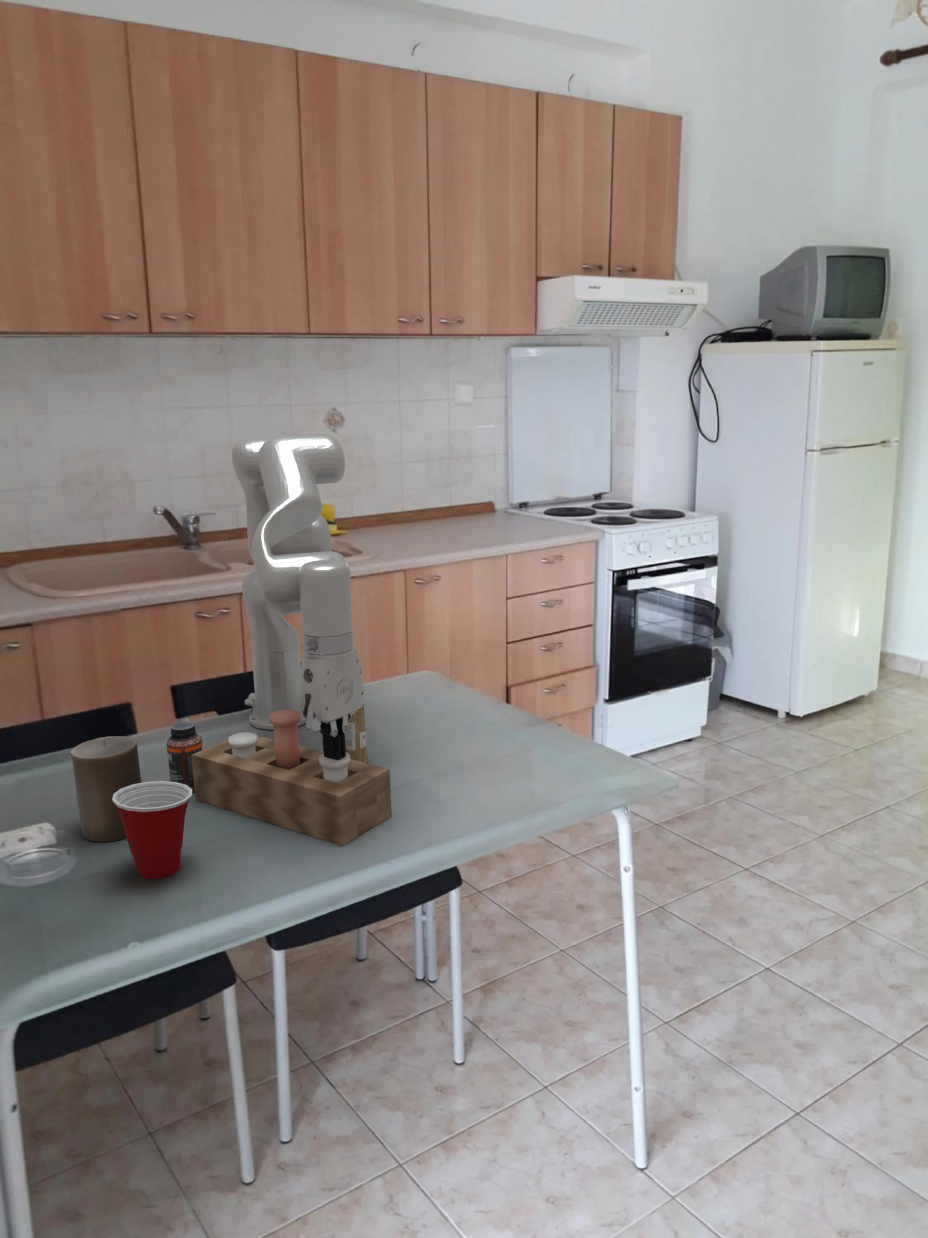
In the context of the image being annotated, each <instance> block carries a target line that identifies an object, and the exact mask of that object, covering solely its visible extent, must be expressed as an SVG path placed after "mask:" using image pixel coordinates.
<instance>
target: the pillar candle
mask: <svg viewBox="0 0 928 1238" xmlns="http://www.w3.org/2000/svg"><path fill="white" fill-rule="evenodd" d="M137 742H138V741H137V740H136V739H134V738H133V737H129V736H121V735H119V736H118V735H117V736H116V735H115V736H114V735H113V736H105V737H98V738H94V739H91V740H87V741H85V742H81V743H80V744H78V745H76V746H75V747H73V748H72V749H71V750H70V755H71V758H72V767H73V776H74V784H75V793H76V801H77V809H78V816H79V823H80V832H81V835H82V837H83V838H85V839H86V840H89V841H92V842H93V841H94V842H113V841H114V842H115V841H119V840H124V839H127V838H126V834H125V831H124V827H123V824H122V820H121V819H120V815H119V813H118V809H117V807H116V805H115V804H114V803H113V800H112V798H113V794H114V793H116V792H117V791H119V790H120V789H122V788H125V787H127V786H130V785H133V784H138V783H143V782H142V778H141V777H142V776H141V769H140V760H139V759H140V758H139V751H138V743H137Z"/></svg>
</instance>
